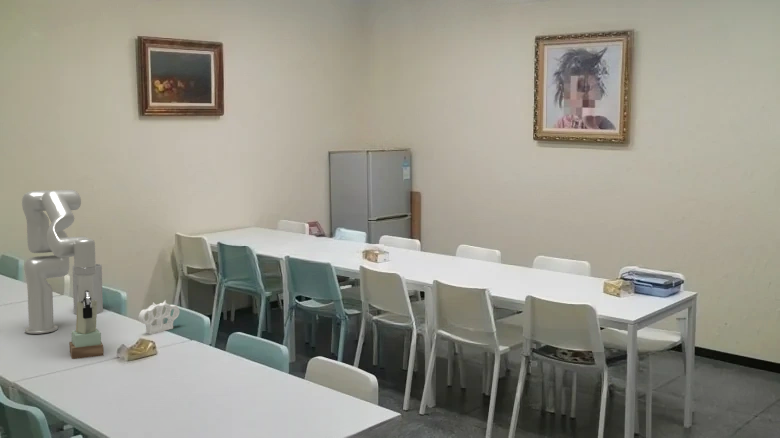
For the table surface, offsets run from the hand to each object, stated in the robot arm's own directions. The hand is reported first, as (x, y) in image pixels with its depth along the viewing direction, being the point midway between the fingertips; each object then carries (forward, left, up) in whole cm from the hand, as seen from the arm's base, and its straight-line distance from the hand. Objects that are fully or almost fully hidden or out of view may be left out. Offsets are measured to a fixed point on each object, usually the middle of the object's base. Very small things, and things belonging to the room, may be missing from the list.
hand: (86, 315), depth 288 cm
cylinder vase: (-66, +7, -15) cm, 68 cm away
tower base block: (0, 0, -15) cm, 15 cm away
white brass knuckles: (-20, +31, -15) cm, 39 cm away
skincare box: (0, 0, -6) cm, 6 cm away
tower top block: (0, 0, -11) cm, 11 cm away
